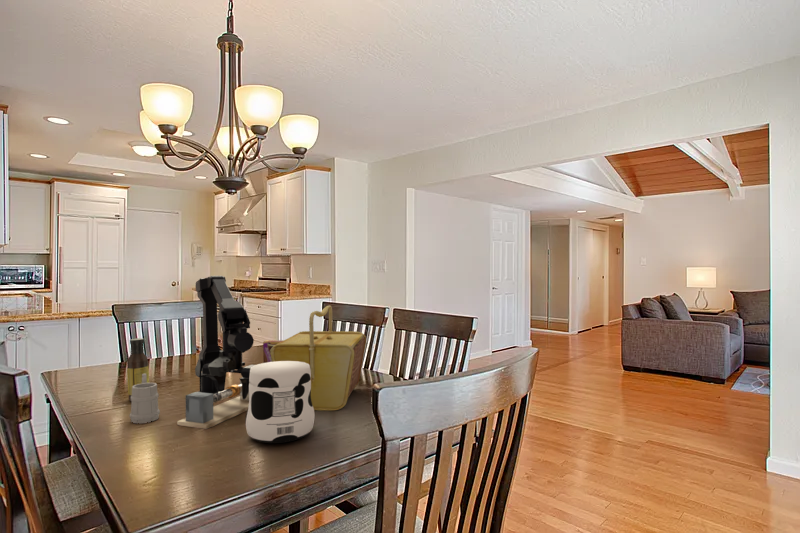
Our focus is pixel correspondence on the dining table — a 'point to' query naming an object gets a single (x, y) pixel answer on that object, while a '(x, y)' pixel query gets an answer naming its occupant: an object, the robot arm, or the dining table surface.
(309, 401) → the milk container
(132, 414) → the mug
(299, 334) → the picnic basket
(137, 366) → the sauce bottle
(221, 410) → the board
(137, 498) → the dining table surface
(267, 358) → the candy box
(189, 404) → the socket
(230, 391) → the tube
